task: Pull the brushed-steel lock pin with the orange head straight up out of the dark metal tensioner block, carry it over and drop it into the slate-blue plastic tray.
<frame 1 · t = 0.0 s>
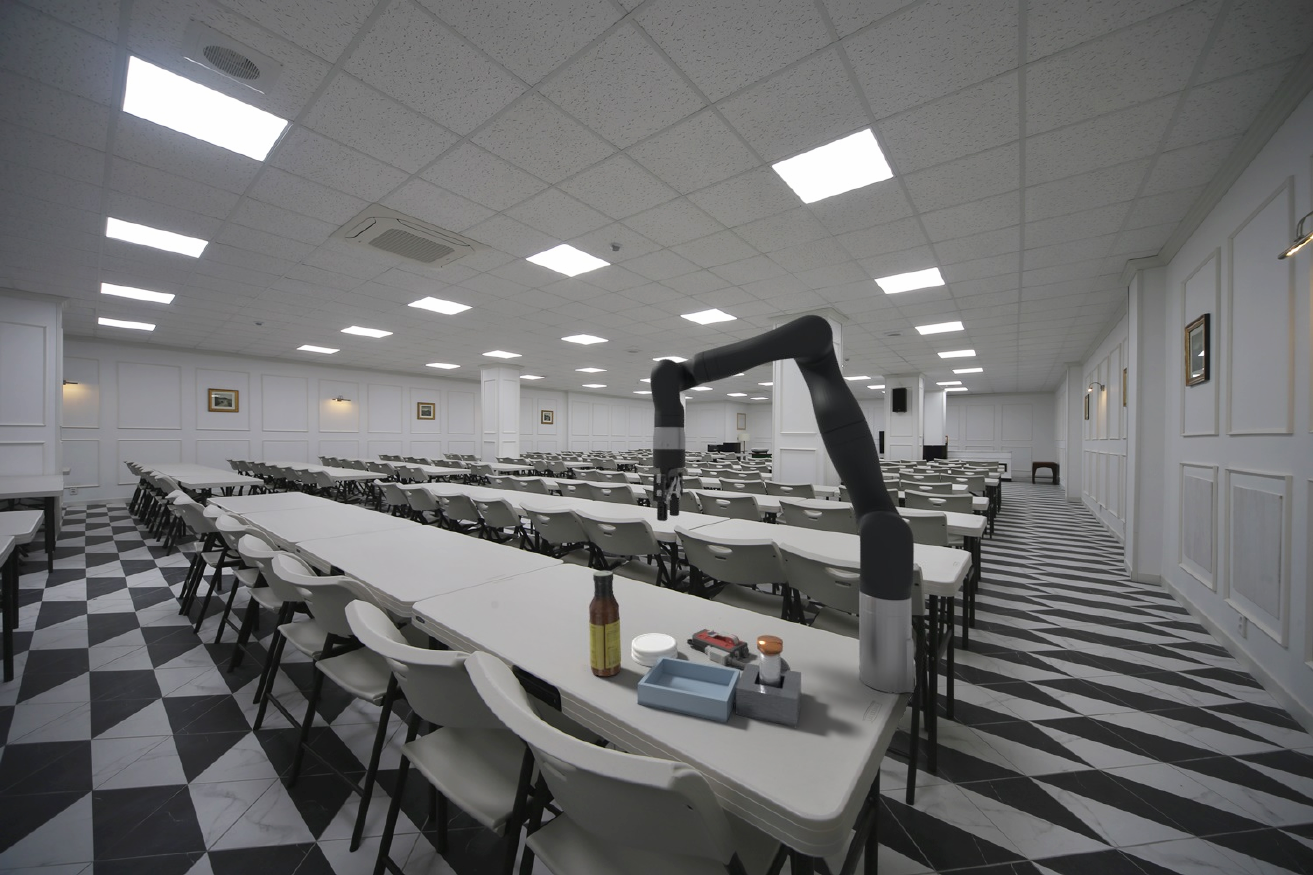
hand: (668, 518, 109), 29 cm above the table, fingers open, 8 cm apart
lock pin: (769, 705, 84), resting in tensioner block
walkie-talkie: (728, 658, 104), on the table
tensioner block: (769, 705, 84), on the table
sauce bottle: (604, 671, 96), on the table
tray: (690, 695, 87), on the table
coaster: (654, 658, 103), on the table
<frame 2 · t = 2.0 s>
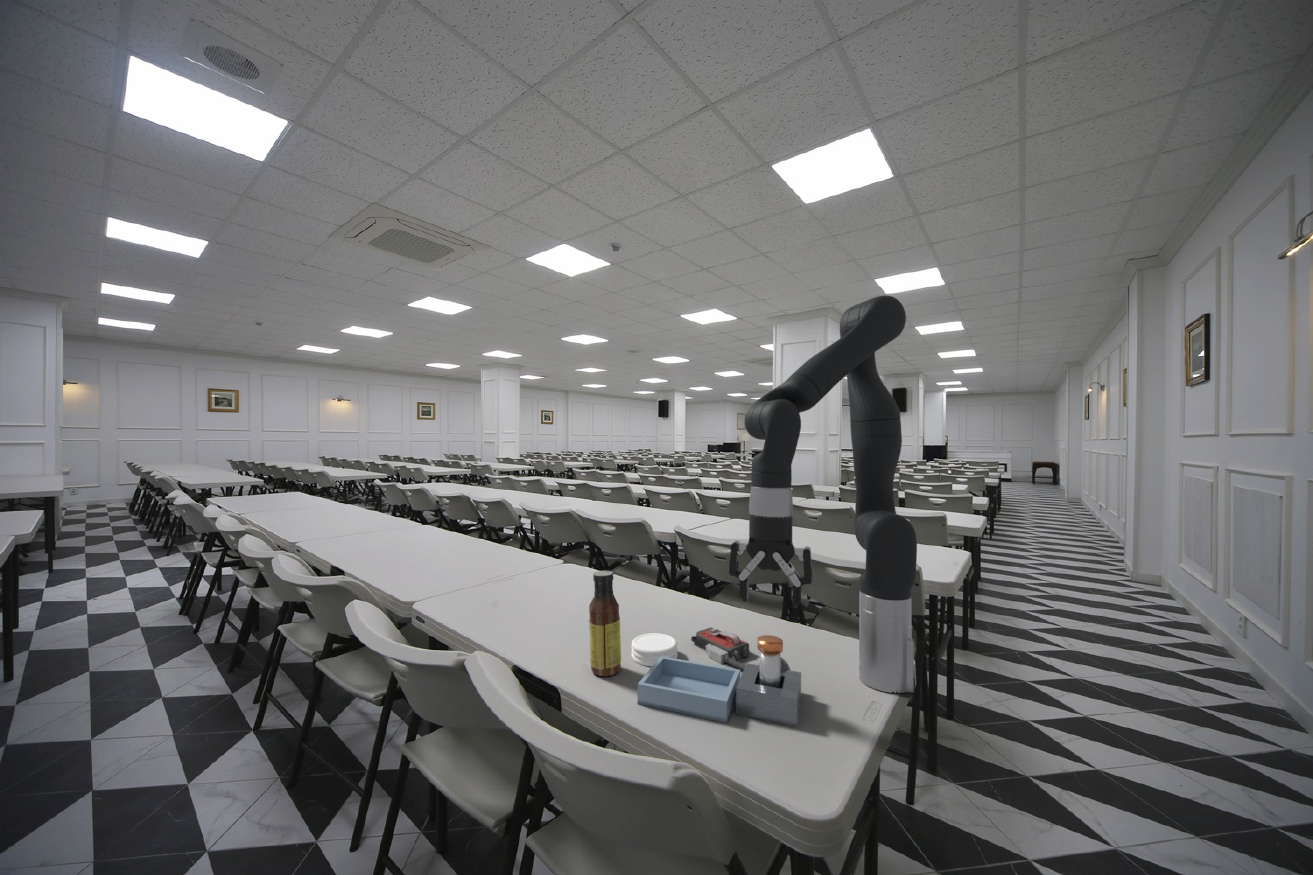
hand: (769, 603, 84), 18 cm above the table, fingers open, 8 cm apart
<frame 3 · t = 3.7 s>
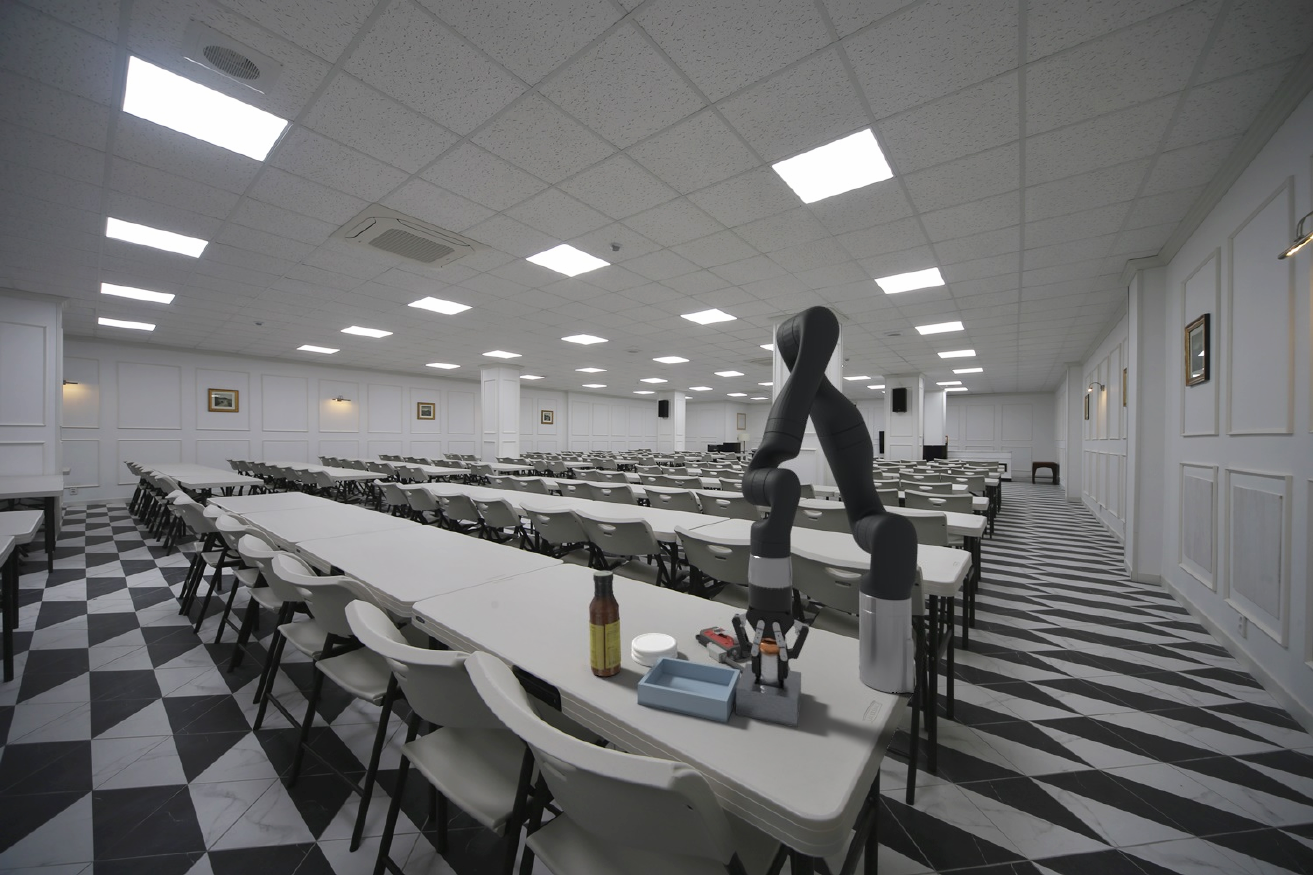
hand: (769, 676, 84), 5 cm above the table, fingers closed on lock pin, 3 cm apart
lock pin: (769, 705, 84), resting in tensioner block, touching gripper
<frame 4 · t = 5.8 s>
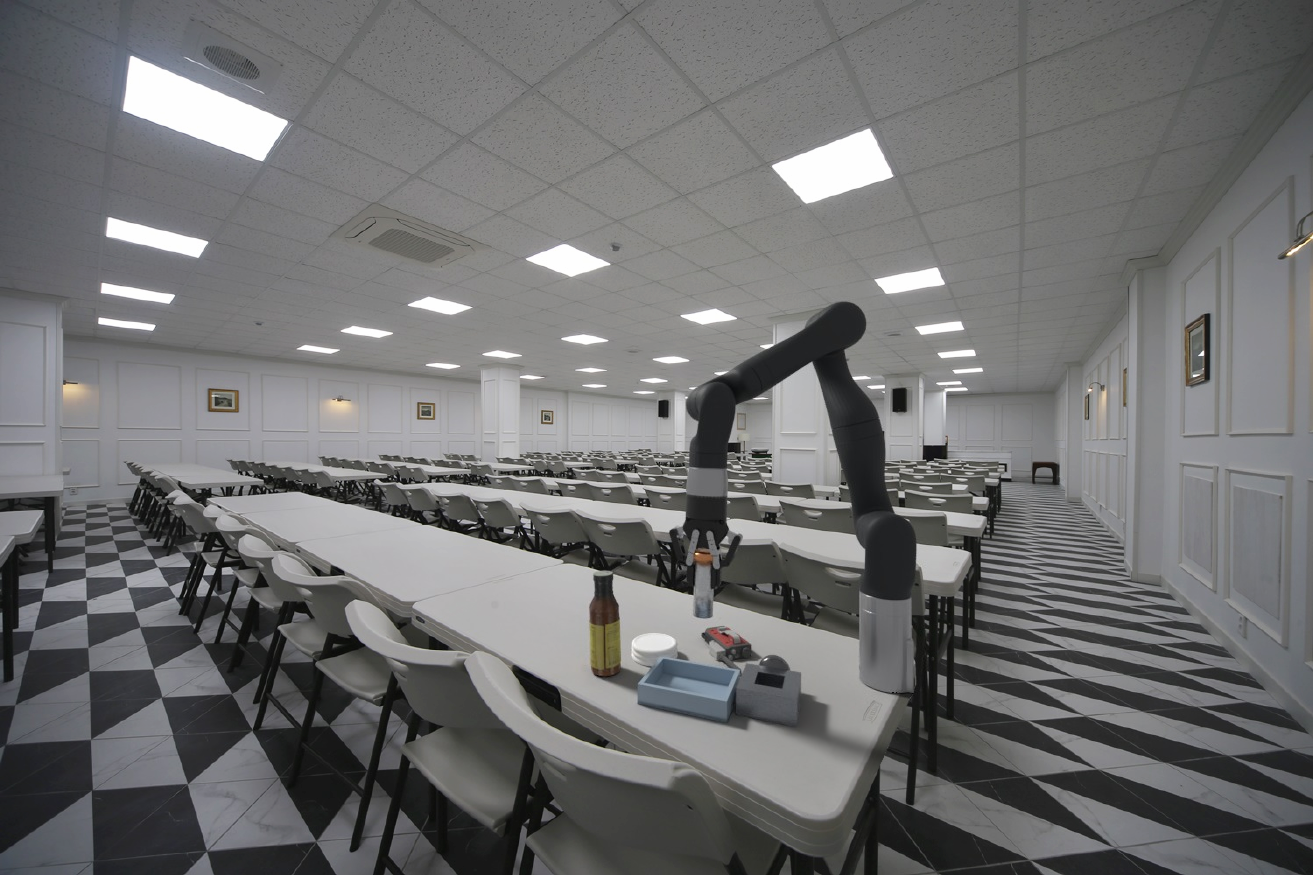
hand: (703, 586, 87), 20 cm above the table, fingers closed on lock pin, 3 cm apart
lock pin: (702, 614, 86), point 15 cm above the table, touching gripper
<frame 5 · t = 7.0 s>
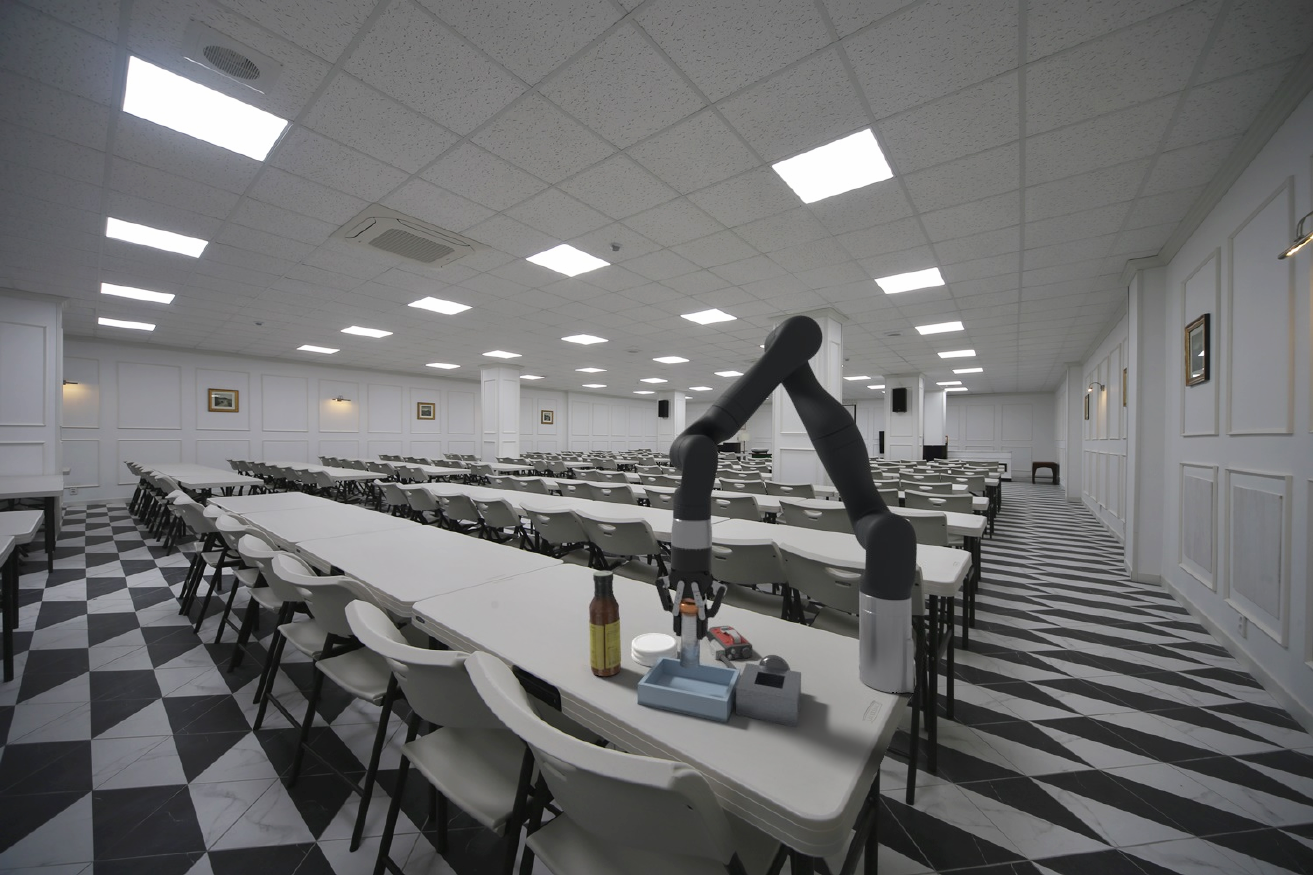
hand: (690, 635, 87), 11 cm above the table, fingers closed on lock pin, 3 cm apart
lock pin: (689, 664, 87), point 6 cm above the table, touching gripper
when the fingers open (7 cm above the table, at t = 7.8 s): lock pin drops 1 cm, resting on tray.
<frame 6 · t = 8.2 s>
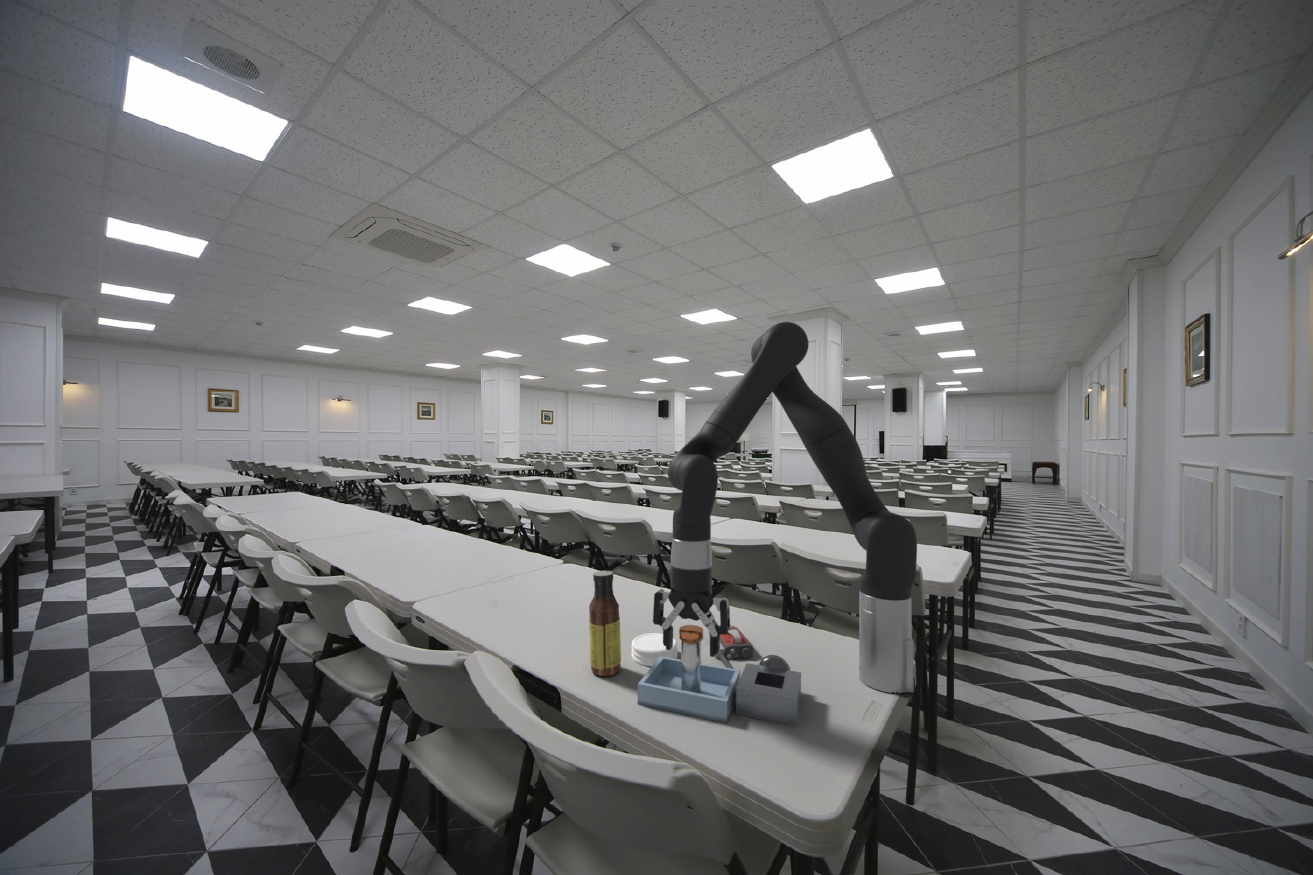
hand: (690, 651, 87), 8 cm above the table, fingers open, 8 cm apart
lock pin: (690, 692, 87), point 1 cm above the table, touching tray
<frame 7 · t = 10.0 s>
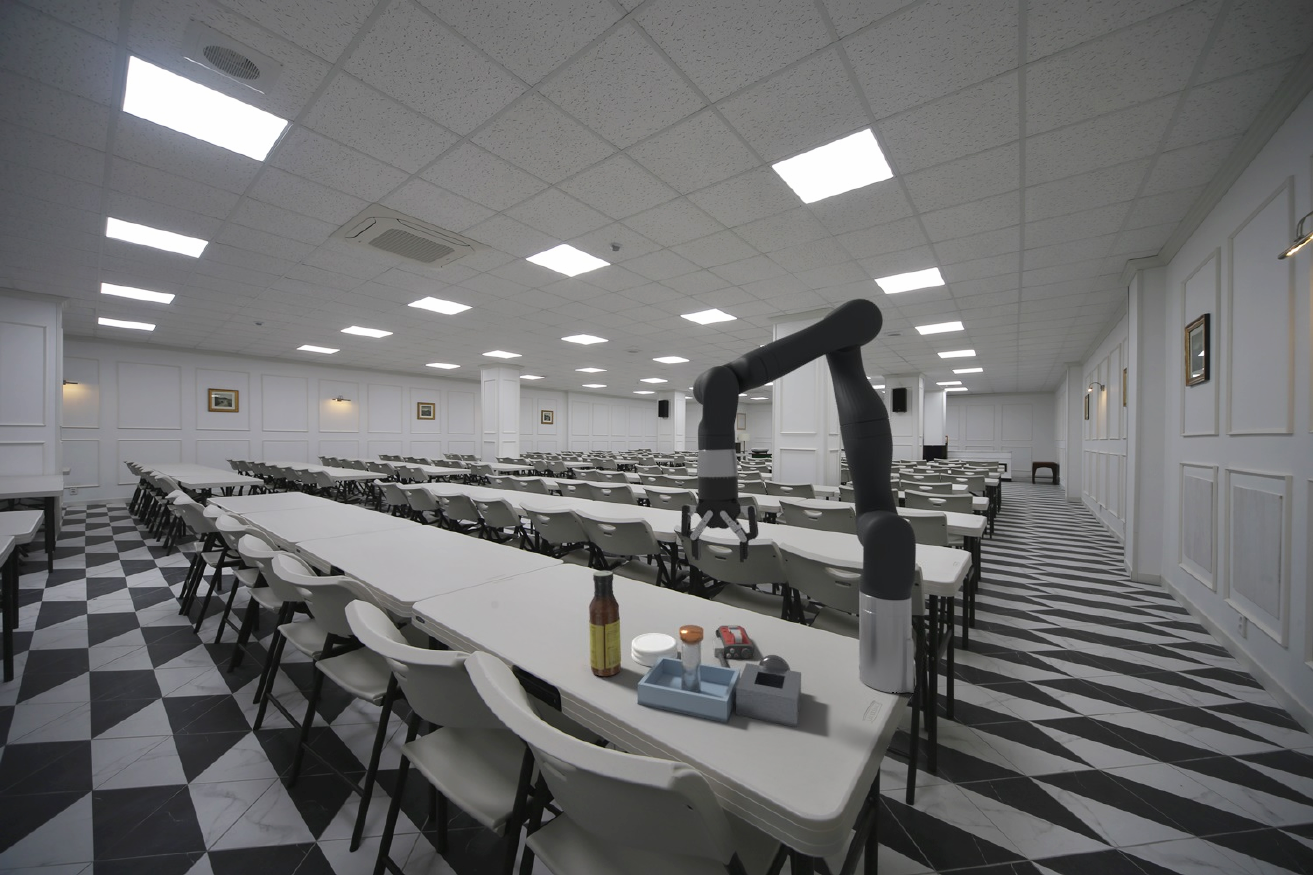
hand: (720, 560, 89), 24 cm above the table, fingers open, 8 cm apart
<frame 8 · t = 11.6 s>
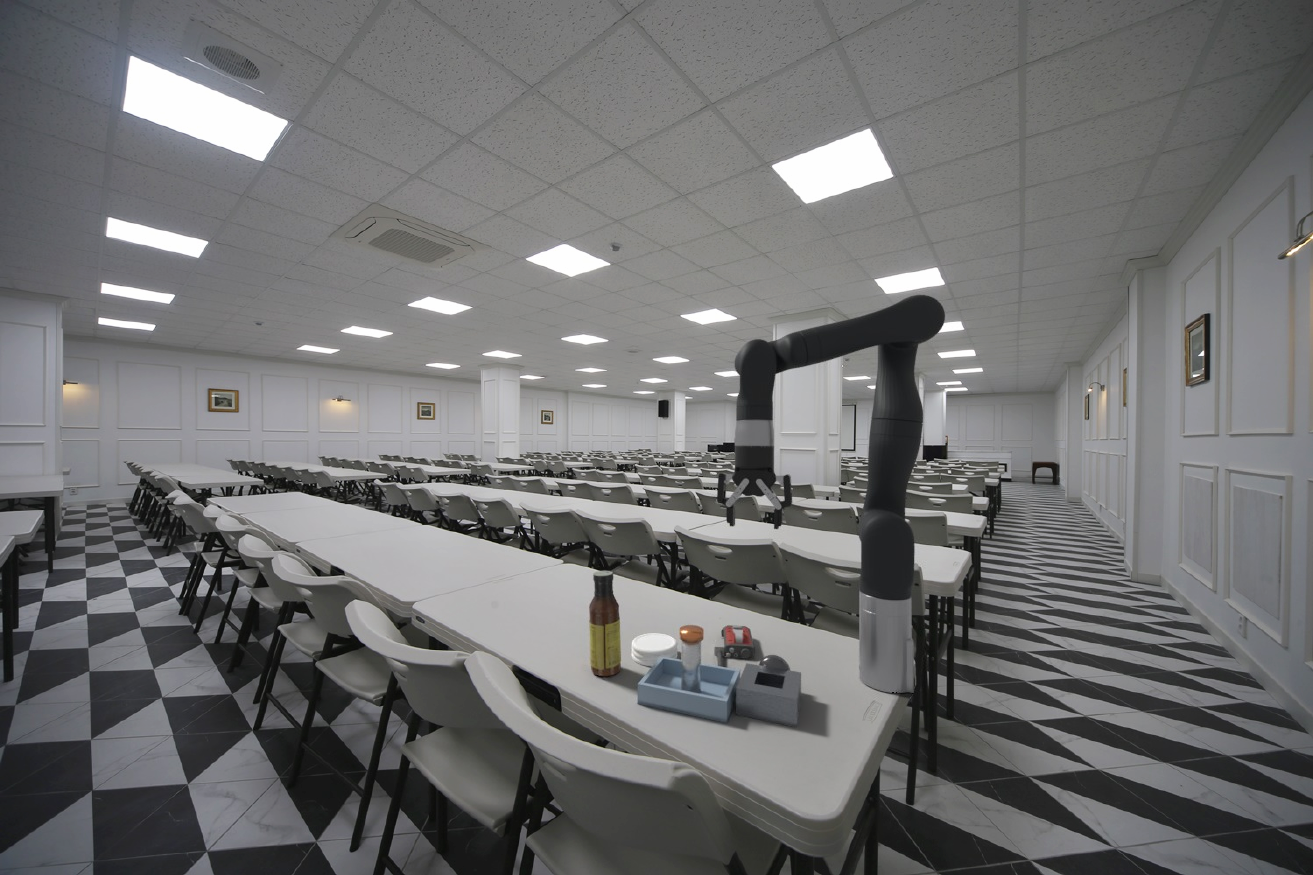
hand: (753, 527, 92), 30 cm above the table, fingers open, 8 cm apart
at the end: lock pin inside the target area on the tray (0.1 cm from its centre), point 0.6 cm above the tray's base; the gripper is holding nothing; lock pin touching tray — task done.
